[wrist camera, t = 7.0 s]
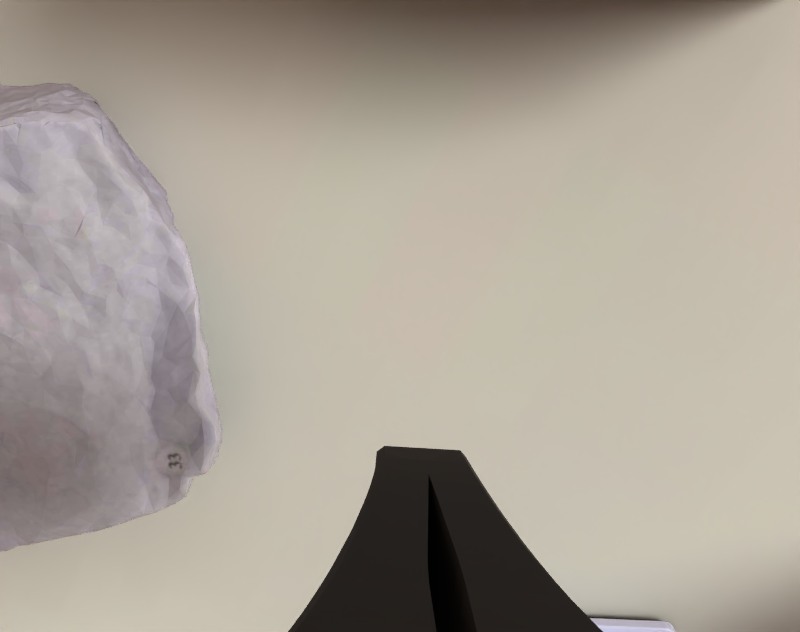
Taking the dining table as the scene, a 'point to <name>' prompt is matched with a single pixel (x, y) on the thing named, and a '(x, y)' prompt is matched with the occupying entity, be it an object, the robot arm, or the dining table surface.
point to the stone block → (92, 328)
